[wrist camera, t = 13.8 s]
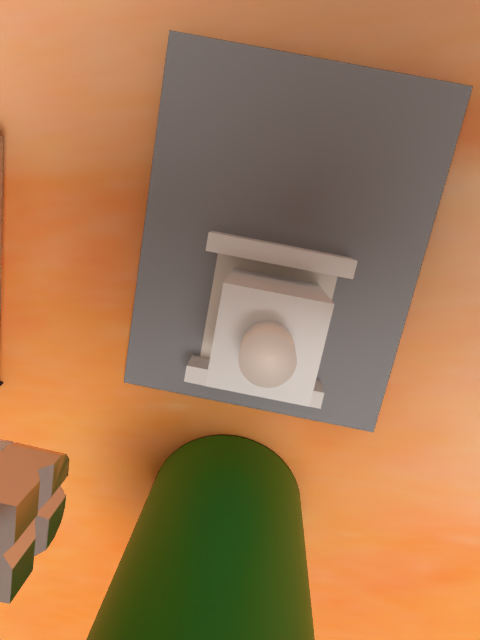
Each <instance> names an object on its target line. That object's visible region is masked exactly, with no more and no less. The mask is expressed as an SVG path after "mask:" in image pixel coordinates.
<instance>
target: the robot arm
mask: <svg viewBox="0 0 480 640" xmlns="http://www.w3.org/2000/svg"><path fill="white" fill-rule="evenodd" d="M68 470H69V458H68V456H67V454H64V453H60V452H55V451H51V450H46V449H42V448H38V447H33V446H29V445H25V444H20V443H14V442H12V441H7V440H2V439H0V602H3V603H9V604H10V603H11V601H12V600H13V598H14V597H15V595H16V594H17V592H18V591H19V589H20V588H21V586H22V585H23V583H24V582H25V581H26V579H27V578H28V576H29V575H30V573H31V572H32V570H33V560H34V556H35V555H37V554H39V553H41V552H43V551H45V550H46V549H47V548H48V546H49V545H50V543H51V541H52V540H53V538H54V537H55V534H56V532H57V530H58V527H59V525H60V523H61V520H62V516H63V512H64V508H65V500H66V495H65V493H64V491H63V490H62V488H61V486H60V485H61V484H62V482H63V481H64V480H65V478H66V477H67V476H68Z"/></svg>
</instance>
